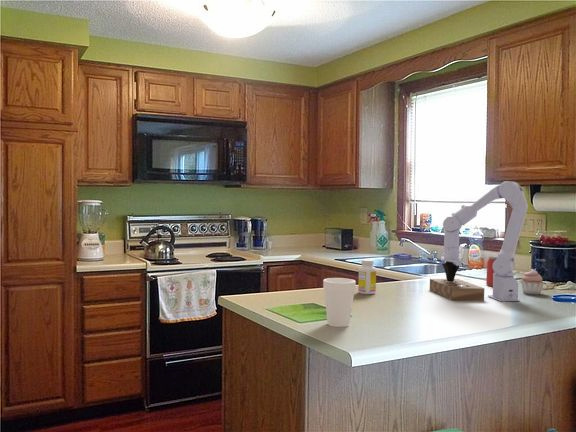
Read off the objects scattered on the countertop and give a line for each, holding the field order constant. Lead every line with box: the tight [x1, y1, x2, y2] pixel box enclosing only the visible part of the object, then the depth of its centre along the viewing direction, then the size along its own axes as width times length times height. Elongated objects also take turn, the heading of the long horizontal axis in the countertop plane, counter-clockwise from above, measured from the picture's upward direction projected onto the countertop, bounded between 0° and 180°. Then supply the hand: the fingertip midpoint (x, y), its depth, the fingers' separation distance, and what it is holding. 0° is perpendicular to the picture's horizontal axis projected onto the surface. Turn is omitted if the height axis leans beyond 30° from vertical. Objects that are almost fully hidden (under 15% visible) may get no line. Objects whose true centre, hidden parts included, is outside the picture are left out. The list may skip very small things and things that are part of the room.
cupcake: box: [519, 268, 545, 296], centre depth 223 cm, size 9×9×10 cm
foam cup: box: [322, 277, 357, 328], centre depth 164 cm, size 10×9×13 cm
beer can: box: [485, 256, 498, 288], centre depth 240 cm, size 7×7×12 cm
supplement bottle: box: [357, 259, 377, 295], centre depth 216 cm, size 7×7×13 cm
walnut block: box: [429, 278, 485, 302], centre depth 216 cm, size 22×12×4 cm, turn 8°
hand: (450, 281), depth 221 cm, fingers closed, pressing on peg far
